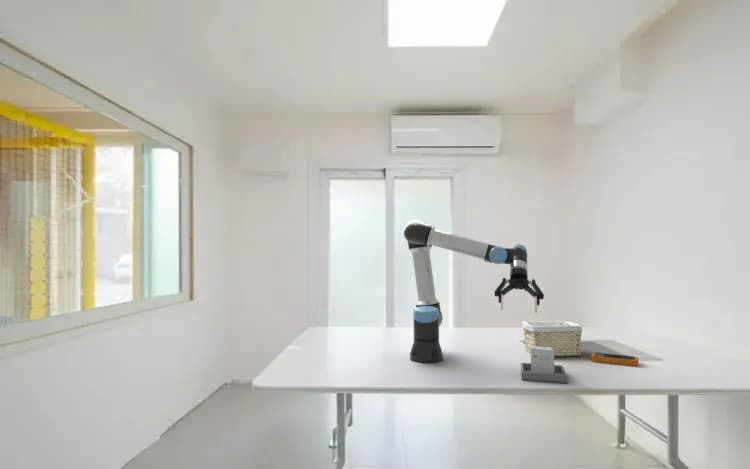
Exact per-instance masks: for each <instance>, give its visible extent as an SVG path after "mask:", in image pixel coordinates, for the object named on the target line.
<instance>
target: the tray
mask: <svg viewBox="0 0 750 469" xmlns="http://www.w3.org/2000/svg"><path fill="white" fill-rule="evenodd" d="M554 371H555V374H547V373H534V372H531V362H529V363H528V362H520V374H521V381H530V382H540V383H541V382H542V383H551V384H553V383H554V384H555V383H556V384H565V385H566V384H567V385H568V383H569V381H568V374H567V372H566V370H565V367H564V365H558V364H554Z"/></svg>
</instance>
